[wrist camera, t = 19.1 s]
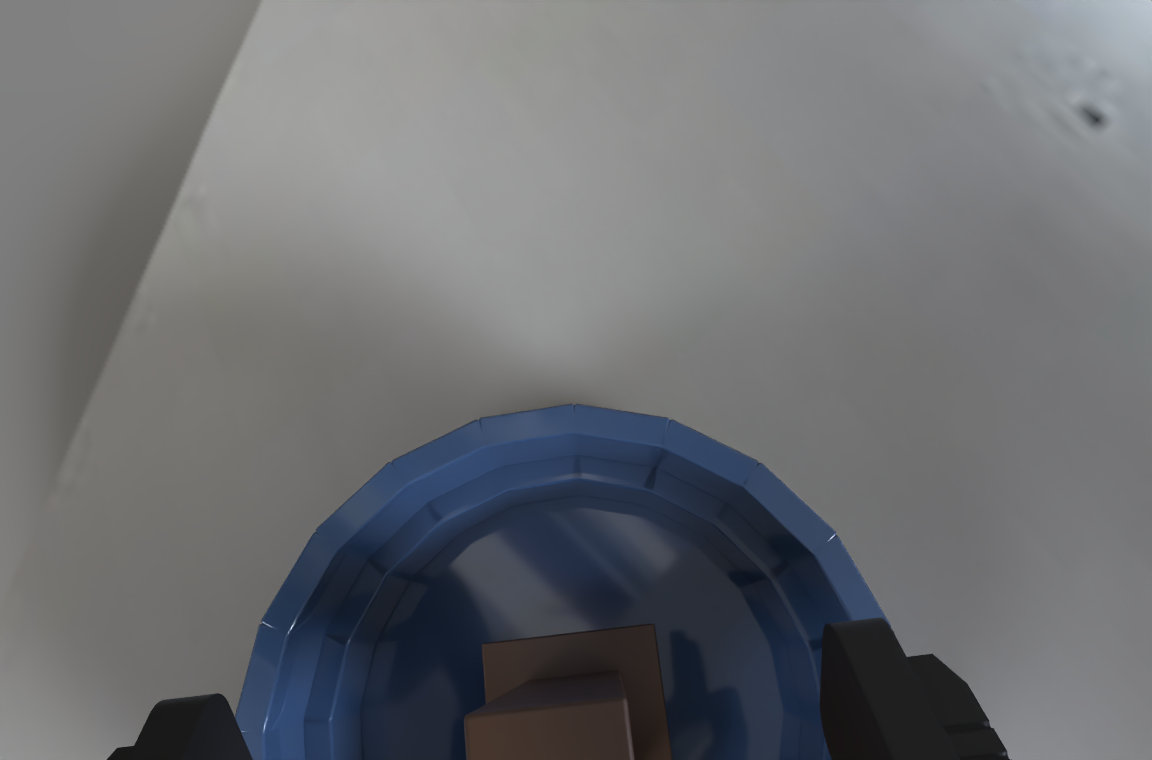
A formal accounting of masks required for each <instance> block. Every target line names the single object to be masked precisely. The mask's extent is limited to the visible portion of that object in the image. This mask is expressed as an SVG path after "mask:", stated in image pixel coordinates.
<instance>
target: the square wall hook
mask: <svg viewBox="0 0 1152 760" xmlns="http://www.w3.org/2000/svg"><path fill="white" fill-rule="evenodd" d="M482 660H483V673H484V687H485V700H486V704H485V705H483V706H481V707H480V708H478V709H476V710H474V711H472V712H471V713H469V714H467V715H465V718H464V733H465V748H466V760H673V758H672V750H671V743H670V735H669V728H668V720H667V713H666V705H665V698H664V690H663V683H662V676H661V668H660V661H659V653H658V646H657V638H656V631H655V625H654V624H652V623H651V624H643V625H634V626H626V627H617V628H609V629H600V630H591V631H583V632H574V633H566V634H557V635H549V636H540V637H531V638H523V639H514V640H506V641H497V642H489V643H483V644H482Z"/></svg>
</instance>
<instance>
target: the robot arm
mask: <svg viewBox="0 0 1152 760" xmlns="http://www.w3.org/2000/svg"><path fill="white" fill-rule="evenodd" d="M820 715H821V722H822V727H823V732H824V737H825V740H826V744H827V747H828V751H829V753H830V756H831V759H832V760H1010V759H1009V758H1008V755H1007V750H1006V749H1005V747H1004V745H1003V744H1002V742H1001V740H1000V738H999V737H998V735H997V733H996V732H995V730H994V728H991V727H990V725H989V720H988V718H987V716H986V715H985V713H984V711H983V710H982V708H981V706H980V705H979V703H978V701H977V699H976V698H975V696H974V694H973V693H972V691H971V689H970V688H969V686H968V684H967V683H966V682H965V681H963V680H962V679H961V678H960V677H959V676H958V675H956V674H955V673H954V672H953V671H952V670H951V669H949V668H948V667H947V666H946V665H945V664H944V663H942V662H941V661H940V660H939V659H938V658H937V657H935V656H934V655H933V654H928V655H920V656H911V657H906V655H905V653H904V652H903V650H902V648H901V646H900V644H899V642H898V640H897V638H896V636H895V634H894V633H893V631H892V629H891V627H890V625H889V624H888V623H887V621H886V620H885V619H884V618H881V617H880V618H871V619H863V620H854V621H846V622H837V623H829V624H825V626H824V629H823V637H822V659H821V681H820ZM107 760H253V759H252V756H251V754H250V752H249V749H248V747H247V745H246V742H245V740H244V738H243V736H242V733H241V731H240V729H239V726H238V724H237V722H236V719H235V717H234V715H233V712H232V710H231V708H230V705H229V703H228V701H227V699H226V698H225V697H224V696H223V695H222V694H210V695H201V696H193V697H184V698H176V699H167V700H162V701H160V702H158V703H157V704H156V705H155V706H154V708H153V709H152V711H151V712H150V714H149V716H148V718H147V720H146V722H145V724H144V727H143V729H142V731H141V733H140V735H139V737H138V739H137V741H136V743H135V745H134V746H129V747H121V748H117V749H116V750H115V751H114V752H113V753H112V754H111V755H110V756H109V758H108V759H107Z"/></svg>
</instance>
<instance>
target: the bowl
mask: <svg viewBox="0 0 1152 760" xmlns="http://www.w3.org/2000/svg"><path fill="white" fill-rule="evenodd" d="M880 617H881V618H884V619H885V620H886V621H887V623H888V624H889V625H890V623H889V621H888V620H887V618H886V616H885V615H884V613H883V611H882V610H881V608H880V606H879V604H878V603H877V601H876V599H875V598H874V596H873V594H872V593H871V591H870V589H869V587H868V586H867V584H866V582H865V581H864V579H863V577H862V576H861V574H860V572H859V570H858V569H857V567H856V565H855V564H854V562H853V560H852V559H851V557H850V555H849V553H848V552H847V550H846V548H845V547H844V545H843V543H842V542H841V540H840V538H839V537H838V536H837V535H836V532H835V531H834V530H833V529H832V528H831V527H830V526H829V525H828V524H827V523H826V522H825V521H824V520H822V519H821V518H820V517H819V516H818V515H817V514H816V513H815V512H814V511H813V510H812V509H811V508H810V507H808V506H807V505H806V504H805V503H804V502H803V501H802V500H801V499H800V498H799V497H798V496H797V495H796V494H794V493H793V492H792V491H791V490H790V489H789V488H788V487H787V486H786V485H785V484H784V483H783V482H782V481H781V480H779V479H778V478H777V477H776V476H775V475H774V474H773V473H772V472H771V471H770V470H769V469H768V468H767V467H765V466H764V465H763V464H762V463H759V462H758V461H757V460H755V459H753V458H751V457H749V456H747V455H745V454H743V453H741V452H739V451H737V450H735V449H732V448H730V447H728V446H726V445H724V444H722V443H720V442H718V441H716V440H714V439H712V438H710V437H708V436H706V435H704V434H702V433H700V432H698V431H695V430H693V429H691V428H689V427H687V426H685V425H683V424H681V423H679V422H677V421H675V420H672V419H670V420H669V418H666V417H660V416H653V415H647V414H640V413H634V412H627V411H621V410H614V409H608V408H601V407H594V406H588V405H581V404H575V405H573V404H567V405H560V406H554V407H547V408H541V409H534V410H528V411H521V412H515V413H508V414H502V415H495V416H489V417H482V418H480V419H479V420H474V421H472V422H470V423H468V424H466V425H464V426H462V427H460V428H457V429H455V430H453V431H451V432H449V433H447V434H445V435H443V436H441V437H439V438H437V439H435V440H433V441H431V442H429V443H427V444H425V445H422V446H420V447H418V448H416V449H414V450H412V451H410V452H408V453H406V454H404V455H402V456H400V457H398V458H396V459H394V460H393V461H392V463H391V462H389V463H387V464H386V465H385V466H384V467H383V468H382V469H381V470H380V471H378V472H377V473H376V474H375V475H374V476H373V477H372V478H371V479H370V480H369V481H368V482H367V483H365V484H364V485H363V486H362V487H361V488H360V489H359V490H358V491H357V492H356V493H355V494H354V495H352V496H351V497H350V498H349V499H348V500H347V501H346V502H345V503H344V504H343V505H342V506H341V507H339V508H338V509H337V510H336V511H335V512H334V513H333V514H332V515H331V516H330V517H329V518H328V519H326V520H325V521H324V522H323V523H322V524H321V525H320V526H319V527H318V528H317V529H316V532H315V533H313V535H312V536H311V538H310V540H309V541H308V543H307V545H306V546H305V548H304V550H303V551H302V553H301V555H300V556H299V558H298V560H297V561H296V563H295V565H294V566H293V568H292V570H291V571H290V573H289V575H288V576H287V578H286V580H285V581H284V583H283V585H282V586H281V588H280V590H279V591H278V593H277V595H276V596H275V598H274V600H273V601H272V603H271V605H270V606H269V608H268V610H267V611H266V613H265V615H264V616H263V618H262V621H261V622H262V624H260V625H259V628H258V632H257V635H256V639H255V643H254V647H253V650H252V654H251V658H250V662H249V666H248V669H247V673H246V677H245V681H244V684H243V688H242V692H241V696H240V700H239V703H238V707H237V711H236V715H235V719H236V722H237V724H238V726H239V729H240V731H241V733H242V736H243V738H244V740H245V742H246V745H247V747H248V749H249V752H250V754H251V756H252V759H253V760H466V748H465V733H464V718H465V715H467V714H469V713H471V712H472V711H474V710H476V709H478V708H480V707H481V706H483V705H485V704H486V700H485V687H484V673H483V660H482V644H483V643H489V642H497V641H506V640H514V639H523V638H531V637H540V636H549V635H557V634H566V633H574V632H583V631H591V630H600V629H609V628H617V627H626V626H634V625H643V624H651V623H652V624H654V625H655V631H656V638H657V646H658V653H659V661H660V668H661V676H662V683H663V690H664V698H665V705H666V713H667V720H668V728H669V735H670V743H671V750H672V758H673V760H832V759H831V756H830V753H829V751H828V747H827V744H826V740H825V737H824V732H823V727H822V722H821V715H820V681H821V659H822V637H823V629H824V626H825V624H829V623H837V622H846V621H854V620H863V619H871V618H880ZM890 627H891V625H890ZM892 631H893V630H892ZM893 633H894V631H893Z"/></svg>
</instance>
